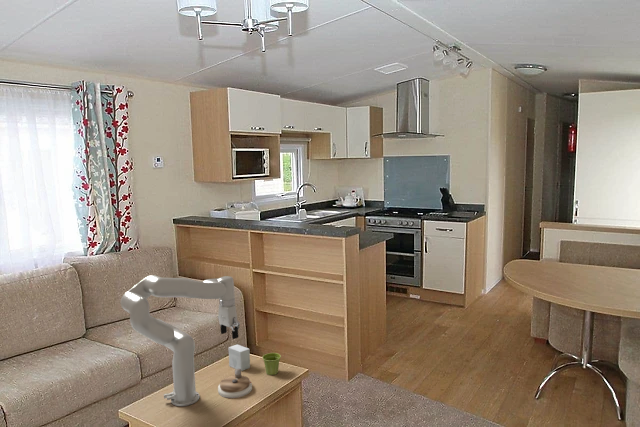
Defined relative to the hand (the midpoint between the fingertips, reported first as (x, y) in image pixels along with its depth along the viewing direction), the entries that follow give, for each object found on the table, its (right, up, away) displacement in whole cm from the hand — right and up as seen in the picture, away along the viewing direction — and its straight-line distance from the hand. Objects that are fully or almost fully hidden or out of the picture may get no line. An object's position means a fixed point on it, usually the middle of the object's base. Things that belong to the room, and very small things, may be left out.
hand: (229, 335), depth 229 cm
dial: (+4, -22, -6) cm, 23 cm away
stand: (+4, -24, -6) cm, 25 cm away
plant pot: (+20, -22, +11) cm, 32 cm away
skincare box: (+2, -22, +19) cm, 29 cm away
